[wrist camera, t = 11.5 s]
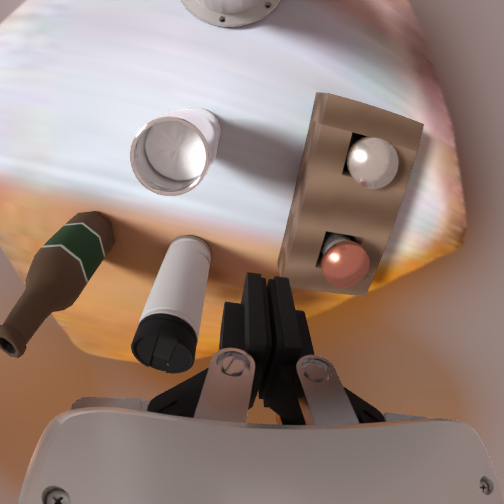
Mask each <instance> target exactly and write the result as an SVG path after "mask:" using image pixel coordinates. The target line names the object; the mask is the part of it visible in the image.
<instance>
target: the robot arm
mask: <svg viewBox="0 0 504 504" xmlns="http://www.w3.org/2000/svg"><path fill="white" fill-rule="evenodd" d="M280 1H281V0H181V2H182V3H183V5H184V6H185V8H186V9H187V10H188V11H189V12H190V13H191V14H192V15H193V16H195V17H196V18H197V19H199V20H201V21H203V22H205V23H208V24H212V25H215V26H222V27H237V26H244V25H248V24H251V23H254V22H256V21H258V20H260V19H262V18H264V17H265V16H267V15H268V14H270V13H271V12H272V11H273V10H274V9H275V8H276V7H277V5H278V4H279V2H280ZM266 5H268V6H270V8H266V7H265V6H266ZM222 19H225V22H221V20H222ZM258 391H259V399H264V407H270V408H271V409H272V410H273V411H274V412H276V414H275V420H276V424H277V425H270V424H252V423H246V419H247V413H248V410H249V409H250V408H251V407H252V406H253V404H254V401H255V398H256V395H257V392H258ZM65 492H66V493H65ZM18 504H504V496H503V493H502V489H501V487H500V483H499V480H498V477H497V475H496V472H495V469H494V467H493V464H492V462H491V459H490V457H489V455H488V452H487V450H486V448H485V446H484V444H483V442H482V440H481V439H480V437H479V435H478V434H477V433H476V431H475V430H474V429H473V428H472V427H470V426H469V425H467V424H465V423H463V422H460V421H456V420H452V419H443V418H427V417H421V416H412V415H403V414H395V413H388V412H386V413H385V414H384V415H382V414H381V412H380V411H378V410H377V409H376V408H374V407H373V406H371V405H370V404H368V403H367V402H366V401H364V400H363V399H361V398H360V397H358V396H357V395H355V394H353V393H352V392H351V391H349V390H348V389H346V388H345V387H343V385H342V383H341V381H340V378H339V376H338V374H337V372H336V369H335V368H334V366H333V364H332V363H331V362H330V361H328V360H327V359H325V358H323V357H320V356H318V355H314V351H313V346H312V342H311V338H310V333H309V329H308V325H307V320H306V316H305V313H304V311H300V310H295V307H294V302H293V297H292V292H291V287H290V282H289V278H286V277H278V276H275V277H274V279H269V281H268V285H267V286H266V279H265V278H261V274H256V273H248V272H247V275H246V280H245V285H244V290H243V295H242V300H241V304H239V303H231V302H225V304H224V310H223V316H222V324H221V332H220V344H219V351H217V352H216V353H215V354H214V355H213V357H212V359H211V363H210V366H209V368H207V369H205V370H204V371H202V372H200V373H198V374H197V375H195V376H193V377H191V378H189V379H188V380H186V381H184V382H182V383H180V384H179V385H177V386H175V387H173V388H171V389H169V390H167V391H165V392H164V393H162V394H160V395H158V396H156V397H155V398H153V399H152V400H151V401H141V399H140V398H107V397H82V398H80V399H78V400H76V401H75V402H74V403H73V404H72V406H71V409H70V410H69V411H66V412H64V413H61V414H59V415H57V416H56V417H55V418H54V419H53V420H52V421H51V422H50V423H49V424H48V426H47V427H46V429H45V430H44V432H43V434H42V436H41V438H40V440H39V442H38V444H37V446H36V449H35V451H34V453H33V456H32V458H31V461H30V464H29V467H28V470H27V473H26V476H25V479H24V483H23V487H22V491H21V494H20V499H19V503H18Z"/></svg>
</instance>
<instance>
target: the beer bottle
mask: <svg viewBox="0 0 504 504" xmlns="http://www.w3.org/2000/svg"><path fill="white" fill-rule="evenodd" d="M114 242H115V240H114V236H113V232H112V228H111V223H110V222H109V221H107V220H106V219H105V218H104V217H102V216H101V215H100V214H99V213H97V212H96V211H93V212H84V213H78V214H77V215H75V216H74V217H73V218H72V219H70V220H69V221H68V222H67V223H66V224H65V225H64V226H63V227H62V228H61V229H60V230H59V231H58V232H57V233H56V234H55V235H54V236H53V237H52V238H50V239H49V240H48V241H47V242H46V243H45V244H44V245H43V246H42V247H41V249H40V250H39V251H38V252H37V254H36V255H35V256H34V259H33V261H32V264H31V266H30V269H29V271H28V274H27V277H26V290H25V291H24V293H23V294H22V296H21V297H20V299H19V300H18V302H17V303H16V305H15V306H14V308H13V309H12V311H11V312H10V314H9V316H8V317H7V319H6V321H5V322H4V324H3V325H0V349H2V350H3V351H4V352H5V353H7V354H8V355H9V356H11V357H17V358H19V357H20V356H22V355H23V354H24V352H25V350H26V344H27V343H28V341H29V340H30V339H31V337H32V336H33V335H34V333H35V332H36V331H37V329H38V328H39V326H40V325H41V324H42V323H43V321H44V320H45V319H46V318H47V317H48V316H49V315H50V314H51V313H52V312H55V311H61V310H65V309H66V308H68V307H70V306H72V304H73V303H74V302H75V301H76V299H77V298H78V297H79V295H80V294H81V292H82V290H83V289H84V287H85V286H86V284H87V283H88V281H89V280H90V278H91V277H92V275H93V274H94V272H95V271H96V269H97V268H98V266H99V265H100V264H101V262H102V261H103V259H104V258H105V256H106V255H107V253H108V252H109V250H110V249H111V247H112V246H113V244H114Z"/></svg>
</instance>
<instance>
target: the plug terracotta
mask: <svg viewBox="0 0 504 504" xmlns="http://www.w3.org/2000/svg"><path fill="white" fill-rule="evenodd" d="M321 252H322V254H323V258H322V261H321V268H322V272H323V274H324V277H325V279H326V280H327V282H328V283H329V284H331V285H333V286H335V287H339V288H345V287H350V286H353V285H355V284H357V283H358V282H360V281H361V280H362V279H363V278H364V277H365V275H366V274H367V272H368V270H369V265H370V261H369V257H368V255H367V253H366V252H365V250H364V248H363V247H362V246H361V245H360V244H358V243H356V242H353V241H351V240H350V238H349V237H348V235H345V234H339V233H334V232H328V231H326V233H325V236H324V239H323V243H322V246H321Z"/></svg>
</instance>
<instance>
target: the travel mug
mask: <svg viewBox="0 0 504 504" xmlns="http://www.w3.org/2000/svg"><path fill="white" fill-rule="evenodd" d="M210 263H211V251H210V248H209V247H208V245H207V244H206V243H205V242H204V241H203V240H202V239H200V238H198V237H195V236H191V235H185V236H180V237H178V238H176V239H175V240H174V241H172V243H171V244H170V246H169V248H168V251H167V253H166V255H165V258H164V260H163V263H162V265H161V267H160V270H159V272H158V275H157V277H156V280H155V282H154V285H153V287H152V290H151V292H150V295H149V297H148V300H147V302H146V305H145V308H144V310H143V313H142V316H141V318H140V321H139V324H138V326H137V331H136V333H135V336H134V339H133V342H132V344H131V349H132V353H133V354H134V356H135V357H136V359H137V360H138V361H140V362H141V363H142V364H144V365H146V366H147V367H148V366H150V367H152V368H155V369H158V370H162V371H166V373H181V372H185V371H187V370H188V369H190V368H191V367H192V366H193V363H194V359H195V352H196V346H197V342H198V336H199V329H200V323H201V317H202V310H203V304H204V298H205V292H206V286H207V280H208V274H209V268H210Z"/></svg>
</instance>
